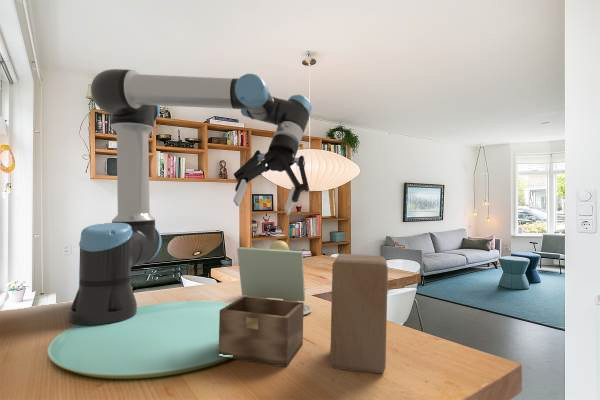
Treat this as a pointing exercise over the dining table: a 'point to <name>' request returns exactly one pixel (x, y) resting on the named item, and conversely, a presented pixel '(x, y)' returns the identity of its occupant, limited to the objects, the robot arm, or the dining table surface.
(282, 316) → the box
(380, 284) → the block
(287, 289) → the lid
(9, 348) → the dining table surface
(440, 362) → the dining table surface
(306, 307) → the speckled grey ring
